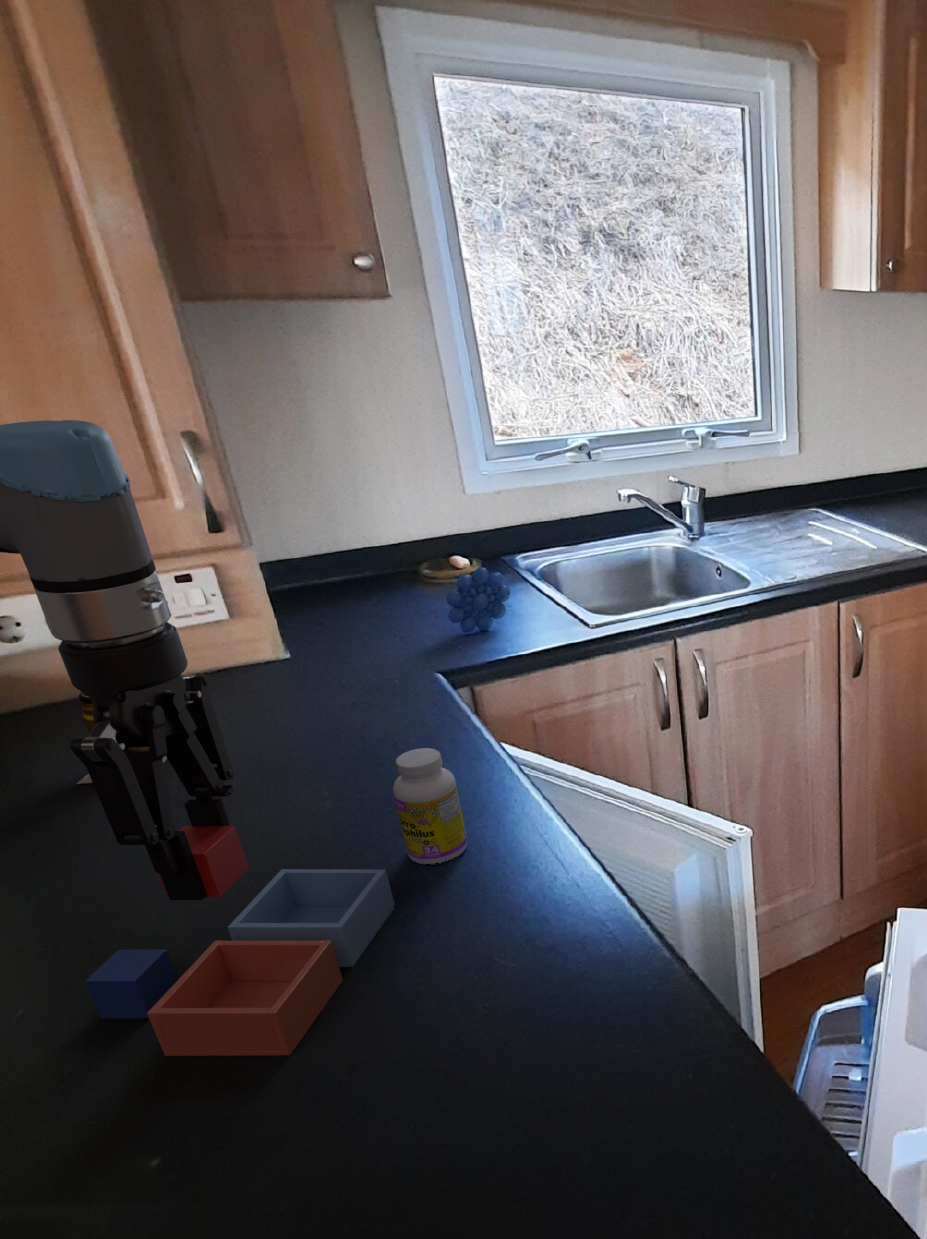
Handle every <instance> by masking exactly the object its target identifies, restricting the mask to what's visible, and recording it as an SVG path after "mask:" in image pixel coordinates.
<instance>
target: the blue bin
mask: <svg viewBox="0 0 927 1239" xmlns="http://www.w3.org/2000/svg"><path fill="white" fill-rule="evenodd" d="M393 896H394V895H393V893H392V888H391V885H390V881H389V878H388V873H387V869H379V868H378V869H374V868H373V869H371V868H369V869H367V868H366V869H365V868H364V869H363V868H362V869H361V868H359V869H358V868H356V869H355V868H353V869H347V868H346V869H345V868H344V869H343V868H340V869H333V868H332V869H329V868H328V869H327V868H326V869H325V868H323V869H321V868H319V869H317V868H316V869H314V868H313V869H312V868H311V869H308V868H306V869H305V868H291V869H290V868H281V869H280V871H278V873H276V874H275V875H274V877H273V878H272V879H271V880H270V881H269V882H268V883H267V884H266V885H265V886H264V888H262V890H261V891H260V892H259V893H258V894H257V895H256V896H255V897H254V898H253V899H252V900H251V901H250V902H249V903H248V904H247V905H246V906H245V908H244V909H242V911H241V912H240V913H239V914H238V915H237V916H236V917H235V918H234V920H233V921H232V922H230V924H229V925H228V926H227V931H228V933H229V936H230V938H231V941H325V940H331V942H332V945H333V948H334V952H335V955H336V959H337V962H338V965H339V968H353V967H354V966H355V965H356V963H357V962H358V961H359V959H360V958H361V956H363V953H364V952H365V951H366V949H367V948H368V946H369V945H370V943H371V942H372V941H373V939H374V938H375V936H376V935H377V934H378V932H379V931H380V929H381V928H382V927H383V925H384V924H385V923H386V921H387V920H388V918H389V917H390V915H391V914H392V913H393V911H394V910H395V908H396V905H395V901H394V897H393ZM394 905H395V907H394V908H393V906H394ZM392 908H393V909H392ZM391 910H392V911H391ZM390 911H391V912H390ZM389 913H390V914H389ZM388 914H389V915H388ZM386 917H387V918H386ZM385 918H386V919H385ZM384 920H385V921H384ZM383 921H384V922H383ZM381 924H382V925H381ZM380 925H381V926H380ZM378 928H379V929H378ZM377 929H378V931H377ZM376 931H377V932H376ZM375 932H376V933H375ZM374 934H375V935H374ZM369 941H370V942H369Z"/></svg>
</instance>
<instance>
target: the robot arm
mask: <svg viewBox="0 0 927 1239" xmlns="http://www.w3.org/2000/svg"><path fill="white" fill-rule="evenodd" d="M149 546H150V545H149V543H148V540H147V537H146V533H145V530H144V527H143V525H142V521H141V518H140V514H139V512H138V509H137V506H136V502H135V499H134V496H133V493H132V490H131V480H130V476H129V475H128V474H126V472H125V470H124V468H123V465H122V463H121V460H120V458H119V455H118V453H117V450H116V448H115V446H114V443H113V441H112V439H111V437H110V434H109V433H108V432H107V431H106V430H105V429H104V428H102V427H101V426H99V425H98V424H96V423H93V422H90V421H85V420H77V419H62V420H52V419H51V420H48V419H46V420H30V421H29V420H28V421H21V422H19V421H18V422H11V423H4V424H0V553H2V554H3V553H4V554H14V555H15V554H17V555H20V556H21V558H22V561H23V563H24V565H25V568H26V570H27V573H28V576H29V579H30V582H31V584H32V586H33V589H34V592H35V594H36V597H37V600H38V603H39V605H40V608H41V611H42V614H43V616H44V618H45V621H46V624H47V627H48V629H49V631H50V632H49V633H50V634H51V635H52V637H53V638H55V639H56V640H59V641H61V642H60V644H59V645H58V647H57V649H58V652H59V655H60V657H61V660H62V663H63V665H64V668H65V669H66V673H67V675H68V677H69V680H70V682H71V685H72V686H73V687H74V688H75V689H76V690H78V691H80V692H83V693H85V694H86V695H87V696H88V697H90V699H91V700H92V704H93V720H94V722H95V724H96V726H95V727H94V728H93V730H92V731H91V732H90V734H89V733H88V735H87V736H86V737H74V738H72V740H71V742H70V749H71V751H72V753H74V756H76V757H77V758H78V759H79V760H80V762H81V763H82V764H83V765H84V766H85V768H86V771H87V774H89V775H90V778H91V780H92V785H93V787H94V789H95V792H96V794H97V796H98V799H99V800H100V803H101V807H102V809H103V811H104V813H105V816H106V819H107V820H108V823H109V825H110V827H111V830H112V832H113V835H114V837H115V839H116V842H117V844H118V845H120V846H144V847H145V849H146V852H147V854H148V857H149V860H150V862H151V864H152V868H153V870H154V871H155V873H157V874H160V875H161V878H162V881H163V883H164V886H165V888H166V891H167V893H168V896H169V898H168V899H169V900H170V901H203V900H204V899H206V898H207V897H206V896H207V892H206V890H205V887H204V884H203V882H202V879H201V876H200V874H199V871H198V868H197V865H196V863H195V860H194V857H193V854H192V851H191V848H190V846H189V843H188V840H187V837H186V835H185V832H184V831H178V830H176V828H175V823H174V817H173V812H172V806H171V801H170V800H171V799H170V795H169V794H170V793H169V788H168V782H167V777H166V772H165V768H164V767H165V766H164V765H165V764H164V763H163V757H164V756H166V757H167V759H166V760H167V761H168V762H169V764H170V766H171V767H172V769H173V771H174V773H175V774H176V776H177V777H178V779H179V781H180V782H181V784H182V786H183V787H184V789H185V791H186V792H187V794H188V795H189V796H190V797H192V798H194V797H195V799H188V800H187V801H185V802H184V808H185V810H186V813H187V816H188V820H189V821H190V824H191V826H230V816H229V814H228V810H227V808H226V804H225V802H224V799H223V797H226V798H227V797H231V796H232V794H233V793H234V786H233V785H232V784H225V782H226V781H231V780H232V779H233V778H234V776H235V771H234V767H233V765H232V761H231V758H230V756H229V752H228V749H227V746H226V742H225V739H224V736H223V734H222V730H221V727H220V723H219V721H218V717H217V714H216V711H215V708H214V704H213V702H212V691H211V680H210V678H209V676H208V675H205V674H183V673H184V672H185V671H186V670H187V667H188V659H187V656H186V653H185V650H184V646H183V644H182V641H181V637H180V635H179V631H178V629H177V627H176V626H175V625H173V624H171V623H170V622H168V621H169V620H170V619H171V617H172V613H171V610H170V607H169V604H168V602H167V598H166V596H165V593H164V590H163V587H162V585H161V581H160V578H159V576H158V572H157V567H156V564H155V562H154V558H153V555H152V552H151V549H150V547H149ZM133 747H149V748H133ZM213 765H216V766H213Z"/></svg>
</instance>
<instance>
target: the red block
mask: <svg viewBox="0 0 927 1239" xmlns="http://www.w3.org/2000/svg"><path fill="white" fill-rule="evenodd" d="M177 831H184V832H185V835H186V837H187V840H188V843H189V846H190V848H191V851H192V854H193V857H194V860H195V863H196V865H197V868H198V871H199V874H200V876H201V879H202V882H203V884H204V887H205V890H206V892H207V896H206V897H205V898H221V897H222V896H223V895H224V894H225V893H226V892H227V891H228V890H229V889H230V888H231V887H232V886H234V884H235V883H236V882H237V881H238V880H239V879H240V878H241V877H242V876H243V875H244V874H245V873H246V872H247V871H248V870H249V869H250V867H249V864H248V861H247V857H246V855H245V852H244V849H243V846H242V844H241V840H240V839H239V835H238V833H237V832H238V831H237V830H236V827H235V825H229V826H192V825H191V826H190V825H189V826H182V827H181V828H179V830H177ZM157 874H158V873H157ZM158 877H159V880H160V882H161V885H162V887H163V890H164V892H165V895H166V897H167V898H168V899H169V896H168V893H167V891H166V888H165V886H164V883H163V881H162V878H161V875H160V874H158Z"/></svg>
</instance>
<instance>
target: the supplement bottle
mask: <svg viewBox="0 0 927 1239" xmlns="http://www.w3.org/2000/svg"><path fill="white" fill-rule="evenodd" d="M395 764H396V769H397V772H398V773H399V775H398V777H397V778H396V779H395V780H394V783H393V785H392V793H393V798H394V802H395V805H396V808H397V809H396V810H397V814H398V819H399V823H400V828H401V832H402V836H403V840H404V845H405V849H406V852H407V855H408V858H409V859H410V860H411V861H412V862H414V863H417V864H419V865H420V864H421V865H426V864H431V865H436V864H435V863H439V864H443V863H442V862H444V863H446V862H445V861H447V862H449V861H448V860H450V861H452V860H454V859H456V858H458V857H460V856H461V855H462V854H463V853H464V852H465V850H466V849H467V847H468V836H467V830H466V826H465V821H464V817H463V811H462V807H461V802H460V798H459V793H458V787H457V782H456V778H455V776H454V774H453V773H452V772H451V771H450V770H449V769H447V768H445V767H443V760H442V755H441V752H440V751H439V750H437V749H435V748H430V747H421V748H414V749H411V750H408V751H405V752H403V753H401V754H400V755H399V756H398V757H396V759H395ZM455 857H456V858H455ZM453 858H454V859H453ZM451 859H452V860H451ZM439 864H438V865H439ZM431 865H430V866H431Z"/></svg>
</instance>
